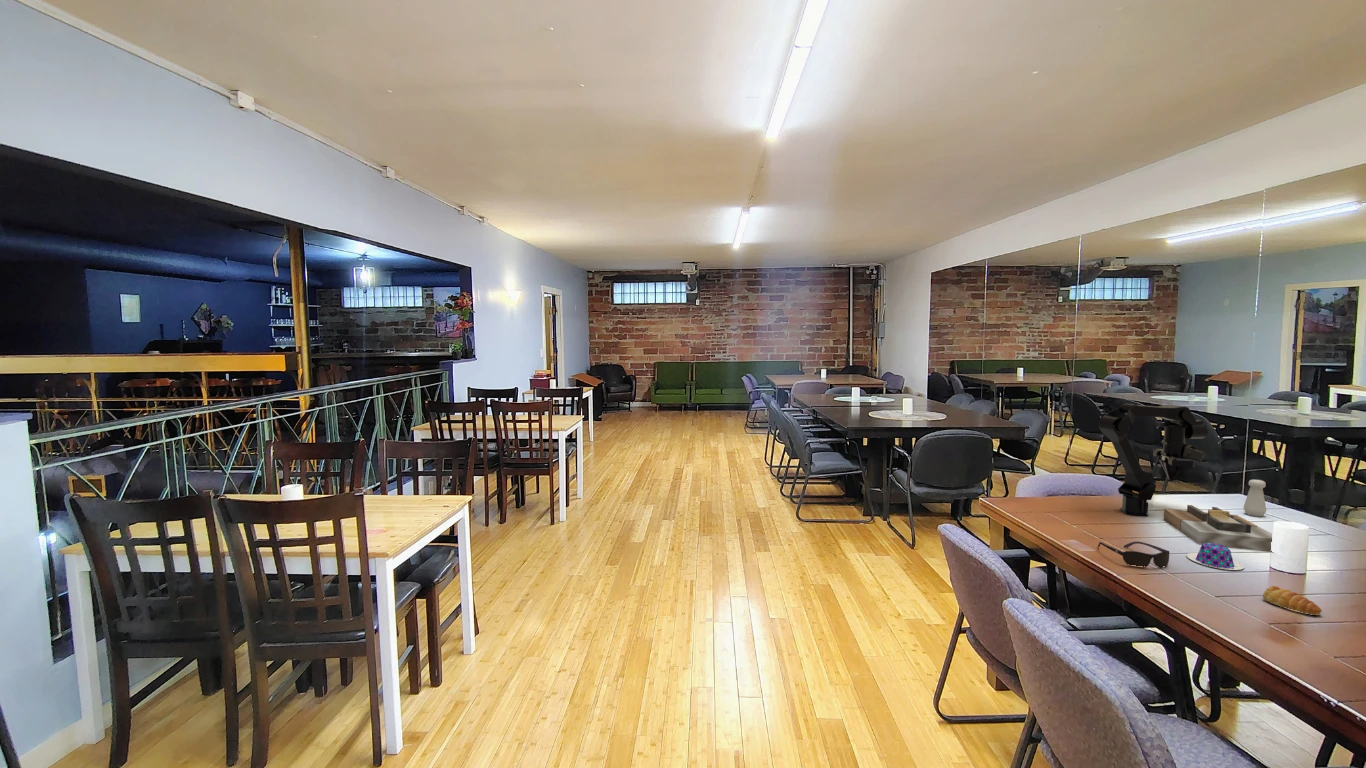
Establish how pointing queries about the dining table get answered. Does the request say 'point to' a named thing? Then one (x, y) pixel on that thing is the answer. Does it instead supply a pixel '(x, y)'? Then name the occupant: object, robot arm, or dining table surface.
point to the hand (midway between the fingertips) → (1171, 480)
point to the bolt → (1221, 516)
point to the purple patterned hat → (1215, 556)
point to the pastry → (1290, 600)
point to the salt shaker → (1255, 499)
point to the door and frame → (1218, 529)
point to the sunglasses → (1142, 555)
